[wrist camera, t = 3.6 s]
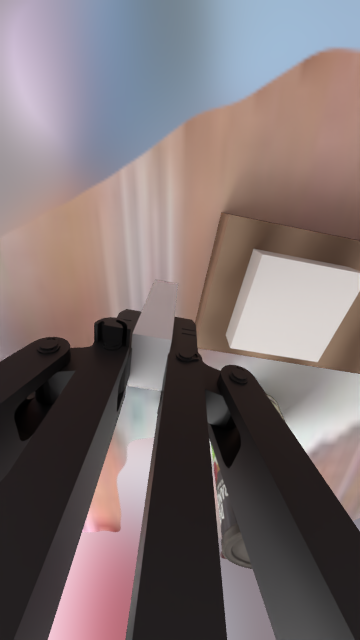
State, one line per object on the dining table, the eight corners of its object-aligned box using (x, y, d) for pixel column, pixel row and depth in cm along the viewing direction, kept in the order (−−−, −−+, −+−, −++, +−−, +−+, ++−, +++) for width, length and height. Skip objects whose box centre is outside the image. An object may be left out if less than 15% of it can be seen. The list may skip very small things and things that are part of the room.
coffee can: (204, 437, 34) (216, 570, 22) (210, 387, 30) (230, 522, 17) (271, 439, 34) (321, 573, 22) (287, 390, 29) (364, 527, 17)
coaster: (225, 334, 21) (230, 348, 19) (253, 248, 17) (262, 254, 15) (305, 347, 21) (317, 362, 20) (349, 267, 18) (369, 274, 16)
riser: (193, 327, 25) (195, 347, 22) (221, 212, 20) (229, 214, 16) (341, 351, 26) (365, 374, 23) (405, 250, 21) (451, 259, 17)
